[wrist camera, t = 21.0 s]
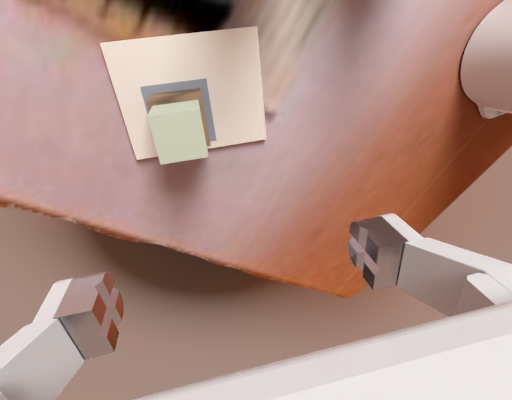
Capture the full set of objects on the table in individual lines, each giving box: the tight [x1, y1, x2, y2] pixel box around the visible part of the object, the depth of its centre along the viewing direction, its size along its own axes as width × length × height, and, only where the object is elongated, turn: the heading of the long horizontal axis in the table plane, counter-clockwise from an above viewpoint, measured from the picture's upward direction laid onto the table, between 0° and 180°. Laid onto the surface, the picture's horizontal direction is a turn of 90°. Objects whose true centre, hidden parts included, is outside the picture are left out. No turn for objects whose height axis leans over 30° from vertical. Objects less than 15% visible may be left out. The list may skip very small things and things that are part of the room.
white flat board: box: [100, 26, 266, 160], centre depth 38 cm, size 18×14×1 cm
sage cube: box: [147, 100, 209, 165], centre depth 32 cm, size 5×5×5 cm
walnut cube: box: [146, 88, 211, 146], centre depth 36 cm, size 6×6×5 cm
